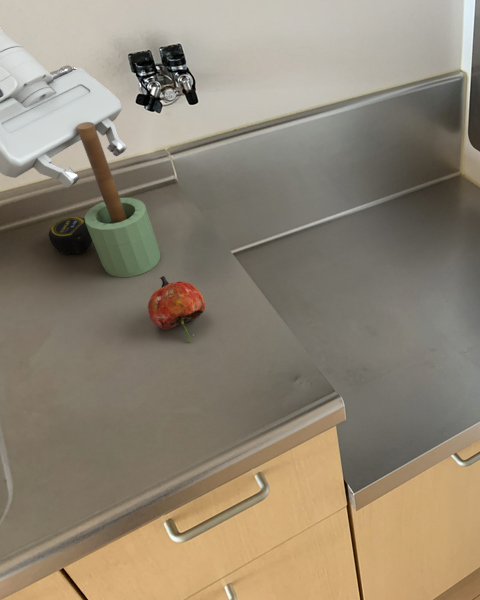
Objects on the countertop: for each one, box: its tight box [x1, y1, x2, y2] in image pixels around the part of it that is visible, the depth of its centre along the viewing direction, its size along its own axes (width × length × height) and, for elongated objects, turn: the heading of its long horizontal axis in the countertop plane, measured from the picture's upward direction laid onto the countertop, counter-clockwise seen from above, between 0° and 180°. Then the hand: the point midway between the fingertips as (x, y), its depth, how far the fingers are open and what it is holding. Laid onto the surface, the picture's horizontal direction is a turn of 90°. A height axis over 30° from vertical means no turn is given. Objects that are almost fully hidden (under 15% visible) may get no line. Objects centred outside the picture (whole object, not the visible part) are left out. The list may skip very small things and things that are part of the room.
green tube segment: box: [84, 197, 161, 278], centre depth 95 cm, size 9×9×9 cm
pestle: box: [77, 122, 128, 224], centre depth 90 cm, size 4×4×22 cm
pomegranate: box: [147, 275, 206, 343], centre depth 84 cm, size 7×7×10 cm
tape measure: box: [48, 216, 93, 255], centre depth 99 cm, size 7×7×4 cm
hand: (99, 167), depth 85 cm, fingers open, 8 cm apart
